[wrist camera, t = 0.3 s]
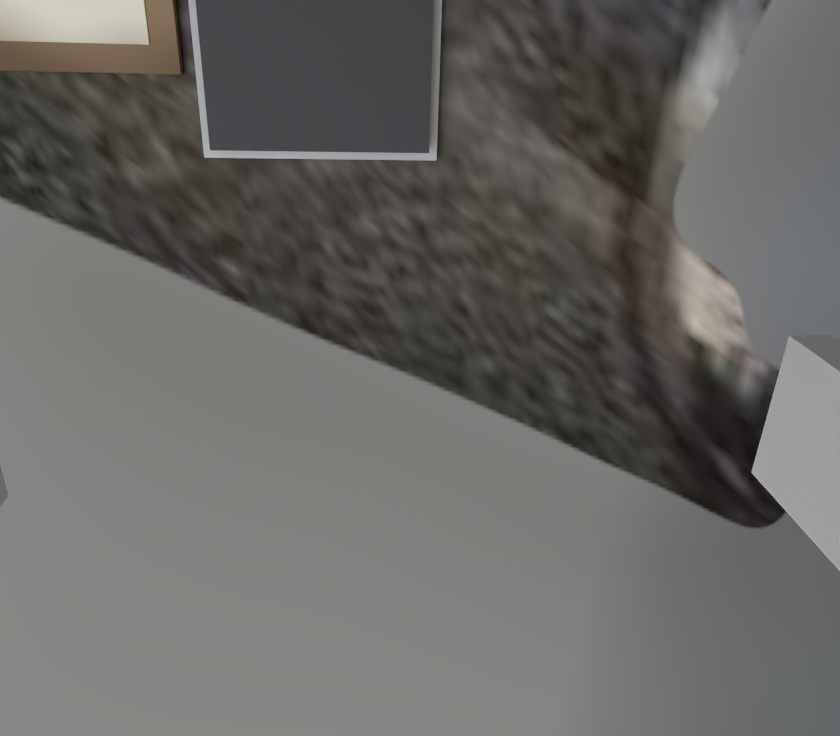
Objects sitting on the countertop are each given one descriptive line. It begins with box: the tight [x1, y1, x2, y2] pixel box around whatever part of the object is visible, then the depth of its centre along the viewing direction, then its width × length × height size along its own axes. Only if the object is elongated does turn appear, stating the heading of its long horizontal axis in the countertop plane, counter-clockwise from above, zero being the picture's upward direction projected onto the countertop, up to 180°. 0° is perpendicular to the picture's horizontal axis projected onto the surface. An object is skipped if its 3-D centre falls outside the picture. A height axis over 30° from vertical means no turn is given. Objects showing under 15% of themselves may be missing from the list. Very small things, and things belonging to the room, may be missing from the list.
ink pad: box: [188, 0, 442, 160], centre depth 32 cm, size 14×12×2 cm
